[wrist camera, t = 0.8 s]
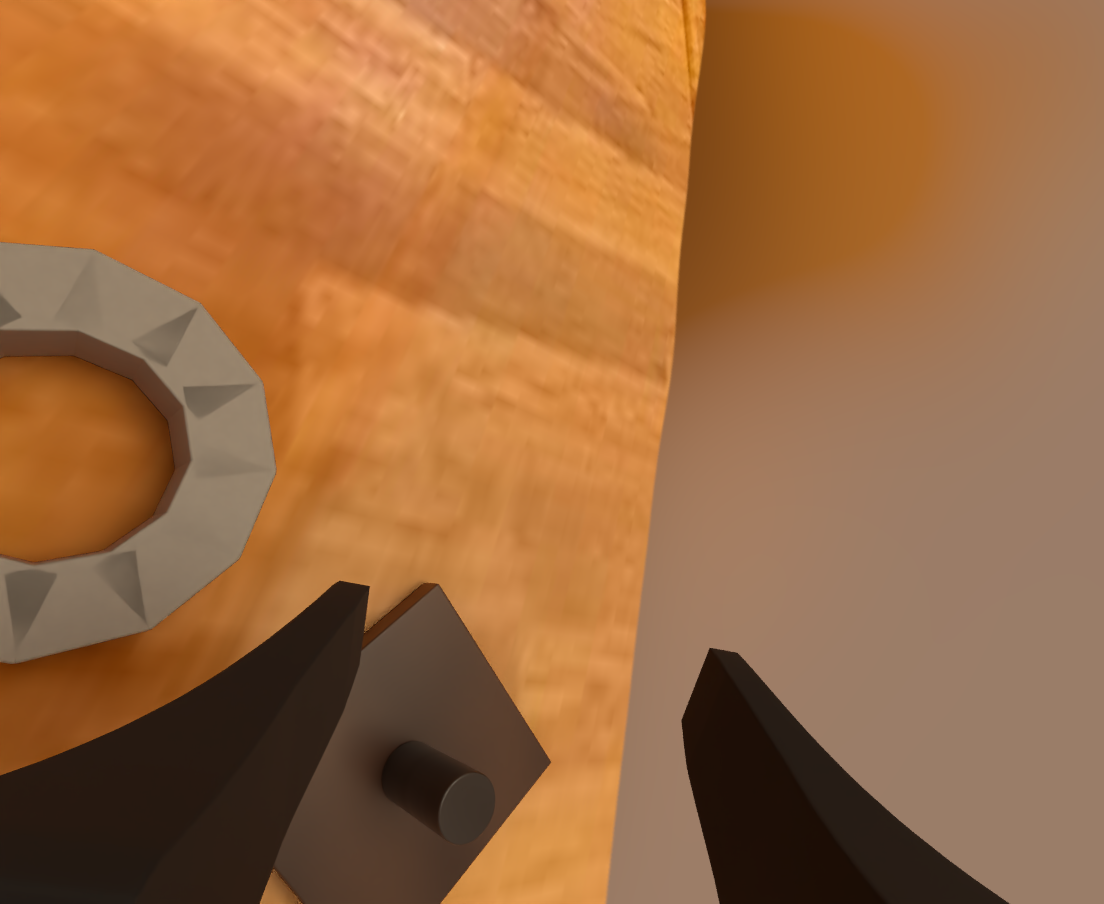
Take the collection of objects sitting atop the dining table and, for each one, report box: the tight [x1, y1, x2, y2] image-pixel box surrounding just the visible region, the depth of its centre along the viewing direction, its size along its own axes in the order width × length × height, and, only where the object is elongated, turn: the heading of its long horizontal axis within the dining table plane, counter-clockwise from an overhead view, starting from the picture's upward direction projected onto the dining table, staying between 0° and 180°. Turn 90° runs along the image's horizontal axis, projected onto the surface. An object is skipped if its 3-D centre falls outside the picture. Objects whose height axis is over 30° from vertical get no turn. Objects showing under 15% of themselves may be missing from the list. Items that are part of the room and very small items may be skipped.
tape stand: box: [273, 583, 551, 904], centre depth 23 cm, size 10×10×6 cm
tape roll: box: [0, 242, 276, 664], centre depth 18 cm, size 11×11×3 cm
